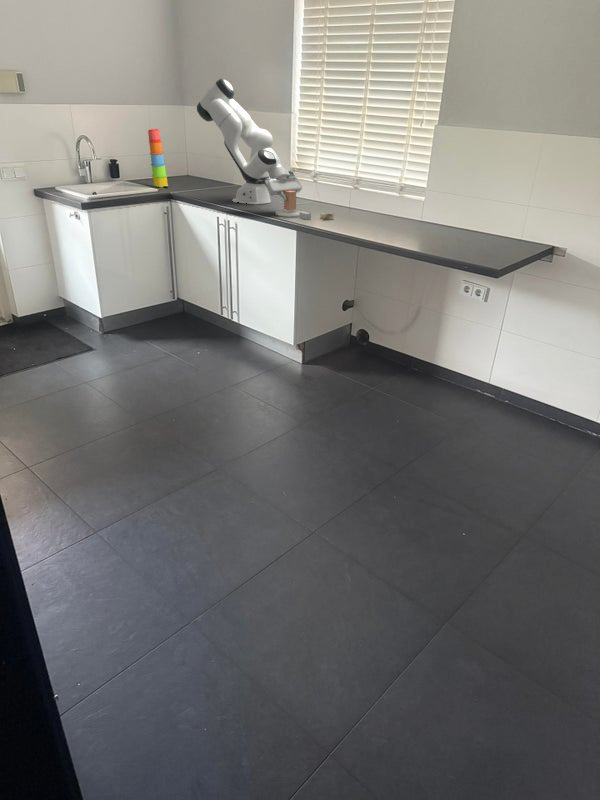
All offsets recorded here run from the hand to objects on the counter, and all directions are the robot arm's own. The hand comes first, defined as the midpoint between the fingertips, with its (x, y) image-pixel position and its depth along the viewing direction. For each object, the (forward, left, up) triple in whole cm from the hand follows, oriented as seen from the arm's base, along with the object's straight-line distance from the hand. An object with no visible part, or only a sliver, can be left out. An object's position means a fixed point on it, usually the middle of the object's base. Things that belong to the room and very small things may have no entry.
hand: (290, 199), depth 293 cm
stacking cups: (-105, +61, -8) cm, 121 cm away
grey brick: (+9, -7, -8) cm, 14 cm away
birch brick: (+20, -5, -8) cm, 22 cm away
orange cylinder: (-1, 0, -5) cm, 5 cm away
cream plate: (-1, 0, -8) cm, 8 cm away
